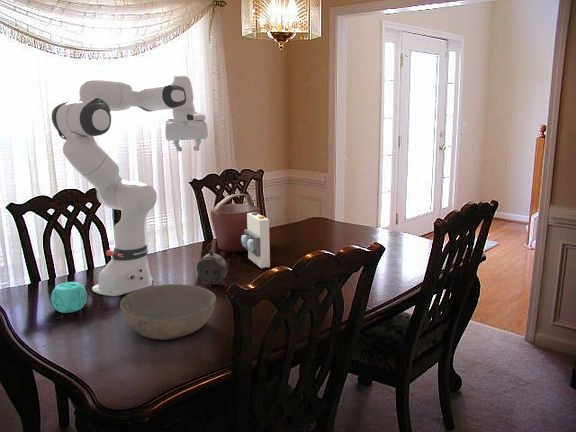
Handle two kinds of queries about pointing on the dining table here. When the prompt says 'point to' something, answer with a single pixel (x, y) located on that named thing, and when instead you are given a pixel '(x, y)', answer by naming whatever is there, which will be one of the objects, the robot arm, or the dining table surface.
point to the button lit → (251, 245)
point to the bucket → (231, 222)
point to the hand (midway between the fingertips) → (188, 151)
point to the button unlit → (244, 240)
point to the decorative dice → (69, 297)
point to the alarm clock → (212, 268)
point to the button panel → (258, 239)
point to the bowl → (168, 310)
